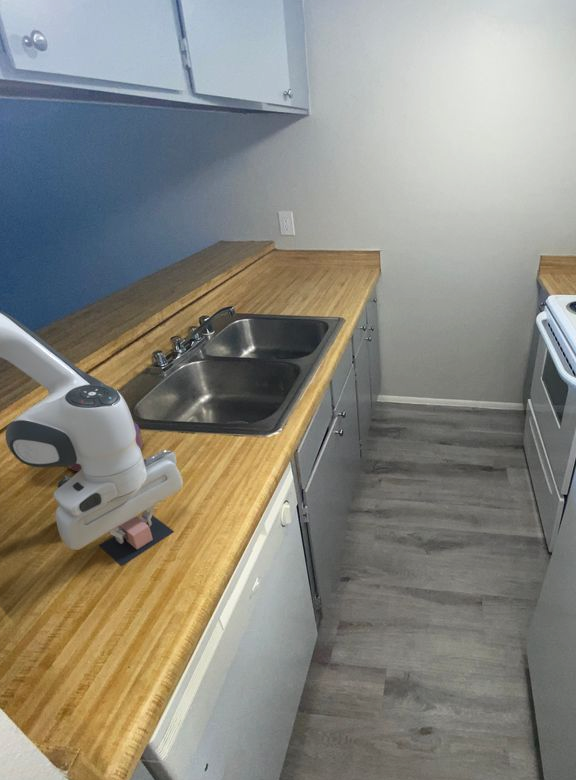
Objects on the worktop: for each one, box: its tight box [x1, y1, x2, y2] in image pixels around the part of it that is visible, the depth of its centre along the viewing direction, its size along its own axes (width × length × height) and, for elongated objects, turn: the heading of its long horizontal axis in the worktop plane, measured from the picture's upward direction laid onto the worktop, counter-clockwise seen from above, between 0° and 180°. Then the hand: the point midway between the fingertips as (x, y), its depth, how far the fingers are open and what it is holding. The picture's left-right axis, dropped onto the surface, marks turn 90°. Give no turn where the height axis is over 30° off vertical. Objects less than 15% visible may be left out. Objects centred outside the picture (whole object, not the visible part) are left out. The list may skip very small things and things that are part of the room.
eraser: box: [118, 515, 153, 550], centre depth 87 cm, size 6×3×4 cm, turn 56°
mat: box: [98, 515, 175, 567], centre depth 88 cm, size 10×8×1 cm
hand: (134, 533), depth 87 cm, fingers closed on eraser, 3 cm apart
